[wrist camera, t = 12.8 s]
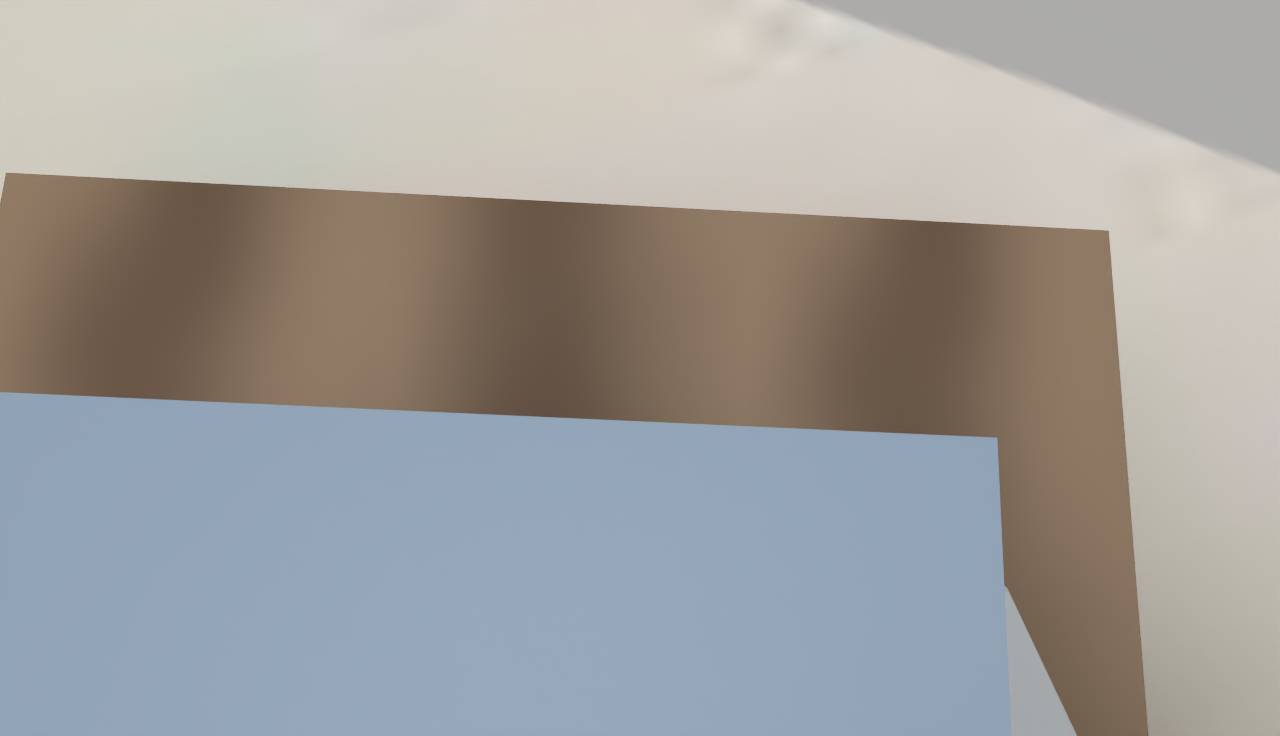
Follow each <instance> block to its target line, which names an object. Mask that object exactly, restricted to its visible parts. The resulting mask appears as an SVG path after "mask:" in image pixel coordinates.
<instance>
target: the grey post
mask: <svg viewBox="0 0 1280 736" xmlns="http://www.w3.org/2000/svg"><path fill="white" fill-rule="evenodd" d="M0 736H1011V718H1010V696H1009V675H1008V654H1007V633H1006V611H1005V590H1004V569H1003V547H1002V526H1001V505H1000V484H999V462H998V441H997V438H993V437H971V436H949V435H927V434H905V433H884V432H862V431H840V430H818V429H796V428H774V427H752V426H730V425H708V424H687V423H665V422H643V421H621V420H599V419H577V418H555V417H533V416H511V415H489V414H468V413H446V412H424V411H402V410H380V409H358V408H336V407H314V406H292V405H270V404H249V403H227V402H205V401H183V400H161V399H139V398H117V397H95V396H73V395H51V394H30V393H8V392H0Z"/></svg>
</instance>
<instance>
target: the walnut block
mask: <svg viewBox="0 0 1280 736" xmlns="http://www.w3.org/2000/svg"><path fill="white" fill-rule="evenodd" d="M0 392H8V393H30V394H51V395H73V396H95V397H117V398H139V399H161V400H183V401H205V402H227V403H249V404H270V405H292V406H314V407H336V408H358V409H380V410H402V411H424V412H446V413H468V414H489V415H511V416H533V417H555V418H577V419H599V420H621V421H643V422H665V423H687V424H708V425H730V426H752V427H774V428H796V429H818V430H840V431H862V432H884V433H905V434H927V435H949V436H971V437H993V438H997V441H998V462H999V484H1000V505H1001V526H1002V547H1003V569H1004V586H1006V587H1007V588H1008V590H1009V593H1010V595H1011V597H1012V599H1013V601H1014V603H1015V605H1016V607H1017V610H1018V612H1019V614H1020V616H1021V618H1022V620H1023V622H1024V624H1025V627H1026V629H1027V631H1028V633H1029V635H1030V637H1031V639H1032V641H1033V643H1034V646H1035V648H1036V650H1037V652H1038V654H1039V656H1040V658H1041V660H1042V663H1043V665H1044V667H1045V669H1046V671H1047V673H1048V675H1049V677H1050V679H1051V682H1052V684H1053V686H1054V688H1055V690H1056V692H1057V694H1058V696H1059V699H1060V701H1061V703H1062V705H1063V707H1064V709H1065V711H1066V713H1067V715H1068V718H1069V720H1070V722H1071V724H1072V726H1073V728H1074V730H1075V732H1076V735H1077V736H1148V728H1147V715H1146V702H1145V689H1144V676H1143V664H1142V651H1141V638H1140V625H1139V613H1138V600H1137V587H1136V574H1135V562H1134V549H1133V536H1132V523H1131V510H1130V498H1129V485H1128V472H1127V459H1126V447H1125V434H1124V421H1123V408H1122V395H1121V383H1120V370H1119V357H1118V344H1117V332H1116V319H1115V306H1114V293H1113V281H1112V268H1111V255H1110V242H1109V231H1104V230H1085V229H1066V228H1047V227H1028V226H1009V225H990V224H971V223H952V222H932V221H913V220H894V219H875V218H856V217H837V216H818V215H799V214H780V213H761V212H742V211H723V210H704V209H685V208H666V207H647V206H628V205H609V204H590V203H571V202H552V201H533V200H514V199H495V198H476V197H457V196H438V195H419V194H400V193H381V192H362V191H342V190H323V189H304V188H285V187H266V186H247V185H228V184H209V183H190V182H171V181H152V180H133V179H114V178H95V177H76V176H57V175H38V174H19V173H6V176H5V181H4V187H3V192H2V197H1V203H0Z"/></svg>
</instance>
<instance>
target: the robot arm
mask: <svg viewBox="0 0 1280 736" xmlns="http://www.w3.org/2000/svg"><path fill="white" fill-rule="evenodd" d="M1004 590H1005V611H1006V633H1007V654H1008V675H1009V696H1010V718H1011V736H1077V735H1076V732H1075V730H1074V728H1073V726H1072V724H1071V722H1070V720H1069V718H1068V715H1067V713H1066V711H1065V709H1064V707H1063V705H1062V703H1061V701H1060V699H1059V696H1058V694H1057V692H1056V690H1055V688H1054V686H1053V684H1052V682H1051V679H1050V677H1049V675H1048V673H1047V671H1046V669H1045V667H1044V665H1043V663H1042V660H1041V658H1040V656H1039V654H1038V652H1037V650H1036V648H1035V646H1034V643H1033V641H1032V639H1031V637H1030V635H1029V633H1028V631H1027V629H1026V627H1025V624H1024V622H1023V620H1022V618H1021V616H1020V614H1019V612H1018V610H1017V607H1016V605H1015V603H1014V601H1013V599H1012V597H1011V595H1010V593H1009V590H1008V588H1007V587H1006V586H1004Z"/></svg>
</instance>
